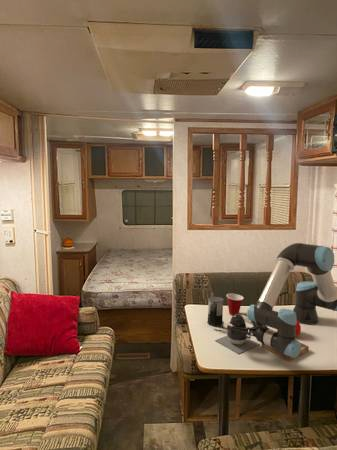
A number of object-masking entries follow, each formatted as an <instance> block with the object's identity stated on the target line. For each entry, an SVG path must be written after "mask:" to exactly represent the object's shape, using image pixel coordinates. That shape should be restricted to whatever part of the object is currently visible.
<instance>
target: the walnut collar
mask: <svg viewBox="0 0 337 450" xmlns="http://www.w3.org/2000/svg"><path fill="white" fill-rule="evenodd" d="M300 343H301V351H300V353H299V355H298V356H297V357H294V358H293V357H290V356H288V355H285V354H284V353H282V352H280V351H278V350H276V349H274V348H271V347H270V346H268V345H265V344H263V343H261V348H263V349H265V350H267V351H269V352H270V353H273V354H275V355H277V356H278V357H280V358H282V359H284V360H287V361H288V362H292V361H293V360H295V359H296V358H299V357H300V356H302V355H303V354H306V353H307V352H309V348H310V346H309V345H308V344H305V343H303V342H300Z"/></svg>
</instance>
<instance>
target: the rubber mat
mask: <svg viewBox="0 0 337 450" xmlns="http://www.w3.org/2000/svg"><path fill="white" fill-rule="evenodd" d="M214 342H216V343H218V344H220V345H221V346H223V347H225V348H227V349H228V350H230V351H232V352H234V353H236V354H237V355H240V354H242V353H245V352H247V351H250V349H253V348H255V347H257V346H260V343H258V342H256V341H254V340H252V339H249V338H247V339H246V341H245V342H244V343H243V344H240V345H237V344H233V343H232V342H230V340H229V339H228V336H227V335H225V336H223V337H219V338H217V339H215V340H214Z"/></svg>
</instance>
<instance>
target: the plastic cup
mask: <svg viewBox="0 0 337 450" xmlns="http://www.w3.org/2000/svg"><path fill="white" fill-rule="evenodd" d="M243 300H244V296H243V295H240V294H236V293H227V294H226V301H227V307H228V308H227V309H228V313H229V315H230V316H231V317H233V316H234V315H235V314H240V310H241V307H242V302H243Z"/></svg>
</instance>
